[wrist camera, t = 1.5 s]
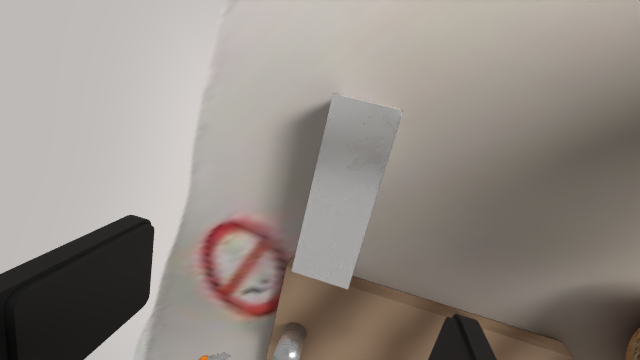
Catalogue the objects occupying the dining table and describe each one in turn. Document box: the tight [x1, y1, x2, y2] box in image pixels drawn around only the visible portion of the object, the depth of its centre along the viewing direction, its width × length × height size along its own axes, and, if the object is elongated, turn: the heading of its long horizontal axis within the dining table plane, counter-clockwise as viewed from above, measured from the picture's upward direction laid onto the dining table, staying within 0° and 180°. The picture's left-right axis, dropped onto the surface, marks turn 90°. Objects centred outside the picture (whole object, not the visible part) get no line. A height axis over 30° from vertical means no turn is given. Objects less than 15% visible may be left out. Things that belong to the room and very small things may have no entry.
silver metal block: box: [292, 94, 403, 289], centre depth 21 cm, size 4×12×5 cm, turn 167°
